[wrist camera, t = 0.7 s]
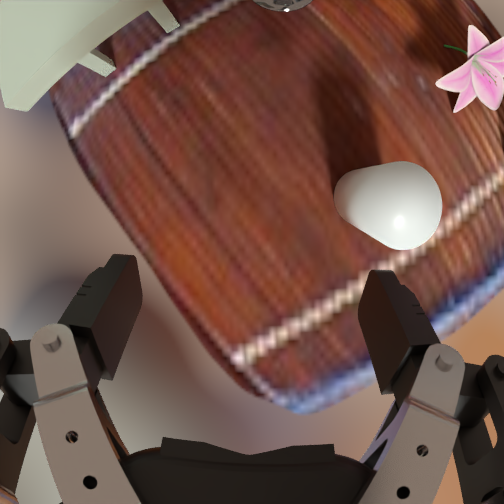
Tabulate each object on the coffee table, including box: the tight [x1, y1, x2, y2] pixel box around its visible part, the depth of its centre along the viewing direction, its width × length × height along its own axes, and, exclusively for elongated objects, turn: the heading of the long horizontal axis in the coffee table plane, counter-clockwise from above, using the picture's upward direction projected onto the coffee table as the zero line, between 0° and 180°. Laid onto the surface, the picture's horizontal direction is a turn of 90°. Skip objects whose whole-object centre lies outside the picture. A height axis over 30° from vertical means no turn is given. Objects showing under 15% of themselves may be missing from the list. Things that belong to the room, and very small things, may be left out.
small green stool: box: [0, 0, 180, 111], centre depth 18 cm, size 10×10×17 cm
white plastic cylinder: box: [334, 161, 442, 250], centre depth 22 cm, size 5×5×11 cm
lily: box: [435, 25, 504, 113], centre depth 20 cm, size 12×12×10 cm
